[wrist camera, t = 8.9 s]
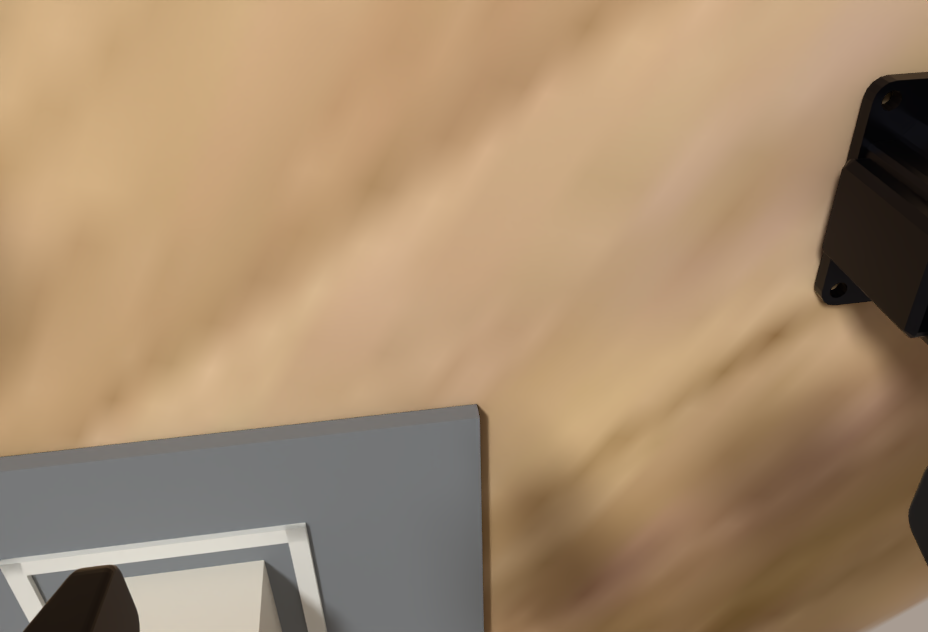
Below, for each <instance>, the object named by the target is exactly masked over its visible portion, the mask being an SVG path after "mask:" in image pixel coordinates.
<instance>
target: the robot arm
mask: <svg viewBox="0 0 928 632" xmlns="http://www.w3.org/2000/svg"><path fill="white" fill-rule="evenodd" d="M891 91H893V95H892V96H891V98H890V100H889V101H888V102H886V103H885V104H882V100H883V98H884V96H885V95H887V94H888V93H889V92H891ZM822 248H823V255H822V259H821V263H820V267H819V271H818V275H817V278H816V282H815V291H816V293H817V295H818V296H819V297H820V298H821V299H822V300H823V301H824V302H825V303H827V304H828V305H840V304H849V303H859V302H868V301H873V302H874V303H875V304H876V305H877V306H878V307H879V308H880V309H881V310H882V311H883V312H884V313H885V314H886V315H887V316H888V317H889V319H890V320H891V321H892V322H893V323H894V324H895V325H896V326H897V327H898V328H899V329H900V330H901V331H902V332H903V333H904V334H905V335H906V336H908V337H910V338H916V337H920V338H921V339H922V340H924V341H925V342H926V343H927V344H928V72H921V73H908V74H894V75H886V76H883V77H880V78H878V79H877V80H875V81H874V82H873V83H872V84H871V85H870V86H869V87H868V88H867V90H866V92H865V95H864V97H863V101H862V105H861V109H860V113H859V117H858V120H857V124H856V128H855V132H854V136H853V140H852V144H851V147H850V151H849V155H848V159H847V163H846V165H845V166H844V167H843V169H842V173H841V176H840V180H839V184H838V188H837V192H836V196H835V200H834V204H833V207H832V211H831V215H830V219H829V223H828V227H827V231H826V235H825V239H824V242H823V247H822ZM838 283H839V285H838V286H837V287H836V288H835V289H832V290H831V288H832V287H833V286H834V285H836V284H838ZM908 517H909V524H910V528H911V531H912V533H913V535H914V538H915V540H916V542H917V544H918V546H919V548H920V550H921V553H922V555H923V557H924V559H925V561H926V563H927V565H928V466H927V467H926V469H925V471H924V473H923V476H922V478H921V481H920V483H919V485H918V488H917V490H916V493H915V495H914V497H913V500H912V502H911V505H910V508H909V514H908ZM23 632H140V623H139V616H138V612H137V609H136V606H135V604H134V601H133V599H132V596H131V594H130V591H129V589H128V587H127V584H126V582H125V579H124V577H123V574H122V572H121V571H120V569H119V568H118V567H117V566H115V565H110V564H109V565H101V566H93V567H85V568H80V569H77V570H76V571H74V572H73V573H71V574H70V575H69V576H68V577H67V579H66V580H65V581H64V582H63V583H62V585H61V586H60V587H59V588H58V589H57V591H56V592H55V593H54V594H53V596H52V597H51V598H50V599H49V600H48V602H47V603H46V604H45V605H44V606H43V608H42V609H41V610H40V611H39V612H38V614H37V615H36V616H35V617H34V619H33V620H32V621H31V622H30V623H29V625H28V626H27V627H26V628H25V629H24V631H23Z"/></svg>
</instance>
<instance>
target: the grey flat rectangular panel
mask: <svg viewBox="0 0 928 632" xmlns="http://www.w3.org/2000/svg"><path fill="white" fill-rule="evenodd" d="M260 560H264V562H265V566H266V570H267V574H268V578H269V582H270V586H271V590H272V593H273V597H274V601H275V605H276V609H277V613H278V617H279V621H280V625H281V629H282V632H484V615H483V562H482V509H481V456H480V416H479V412H478V408H477V404H474V405H465V406H456V407H447V408H438V409H429V410H420V411H411V412H402V413H393V414H384V415H375V416H366V417H357V418H349V419H340V420H331V421H322V422H313V423H304V424H295V425H286V426H277V427H268V428H259V429H250V430H241V431H232V432H223V433H214V434H205V435H196V436H187V437H178V438H169V439H160V440H151V441H142V442H133V443H124V444H115V445H106V446H97V447H88V448H79V449H70V450H61V451H52V452H43V453H34V454H25V455H16V456H7V457H0V632H23V631H24V629H25V628H26V627H27V626H28V625H29V623H30V622H31V621H32V620H33V619H34V617H35V616H36V615H37V614H38V612H39V611H40V610H41V609H42V608H43V606H44V605H45V604H46V603H47V602H48V600H49V599H50V598H51V597H52V596H53V594H54V593H55V592H56V591H57V589H58V588H59V587H60V586H61V585H62V583H63V582H64V581H65V580H66V579H67V577H68V576H69V575H70V574H71V573H73V572H74V571H76V570H77V569H80V568H85V567H93V566H101V565H109V564H110V565H115V566H117V567H118V568H119V569H120V571H121V572H122V574H123V577H124V578H126V577H134V576H142V575H150V574H157V573H165V572H173V571H181V570H189V569H197V568H205V567H213V566H220V565H228V564H236V563H244V562H252V561H260Z"/></svg>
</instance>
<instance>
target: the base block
mask: <svg viewBox="0 0 928 632" xmlns="http://www.w3.org/2000/svg"><path fill="white" fill-rule="evenodd" d="M124 579H125V582H126V584H127V587H128V589H129V591H130V594H131V596H132V599H133V601H134V604H135V606H136V609H137V612H138V616H139V623H140V632H282V629H281V625H280V621H279V617H278V613H277V609H276V605H275V601H274V597H273V593H272V590H271V586H270V582H269V578H268V574H267V570H266V566H265V562H264V560H260V561H252V562H244V563H236V564H228V565H220V566H213V567H205V568H197V569H189V570H181V571H173V572H165V573H157V574H150V575H142V576H134V577H126V578H124Z"/></svg>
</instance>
